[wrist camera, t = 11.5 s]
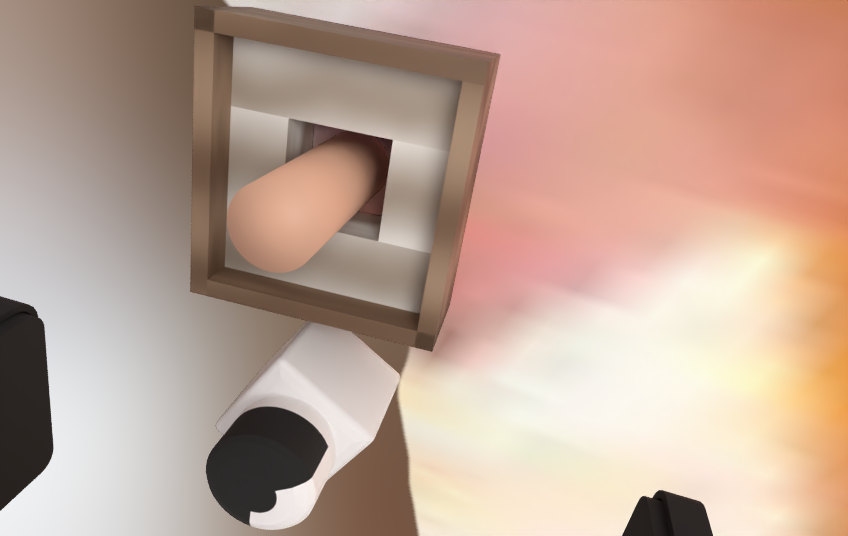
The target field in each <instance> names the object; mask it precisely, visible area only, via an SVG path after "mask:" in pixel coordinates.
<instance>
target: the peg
mask: <svg viewBox="0 0 848 536" xmlns="http://www.w3.org/2000/svg"><path fill="white" fill-rule="evenodd" d="M388 170H389V159H388V156H387V153H386V151H385V149H384V147H383V146H382V144H381V143H380V142H379V141H378V140H377V139H376V138H375V137H373V136H372V135H367V134H362V133H357V132H353V131H345V132H342V133H340V134H338V135H336V136H335V137H333V138H331V139H329V140H327V141H326V142H324V143H322V144H320V145H318V146H317V147H315V148H313V149H311V150H309V151H307V152H306V153H304V154H302V155H300V156H298V157H297V158H295V159H293V160H291V161H289V162H288V163H286V164H284V165H282V166H280V167H279V168H277V169H275V170H273V171H271V172H270V173H268V174H266V175H264V176H262V177H261V178H259V179H257V180H255V181H253V182H251V183H250V184H248V185H246V186H245V187H243V188H241V189H240V190H239V191H238V192H237V193H236V194H235V196H234V197H233V199H232V200H231V202H230V205H229V208H228V212H227V227H228V232H229V235H230V238H231V240H232V242H233V244H234V246H235V248H236V249H237V250H238V252H239V253H240V254H241V255H242V256H243V257H244V258H245V259H246V260H247V261H248V262H250V263H251V264H252V265H254V266H256V267H258V268H260V269H262V270H265V271H268V272H274V273H285V272H290V271H293V270H296V269H298V268H300V267H301V266H303V265H304V264H305V263H306V262H307V261H308V260H309V259H310V258H311V257H312V256H313V255H314V254H315V253H316V252H317V251H318V250H319V249H320V248H321V247H322V246H323V245H324V244H325V243H326V242H327V241H328V240H329V239H330V238H331V237H332V236H333V235H335V234H336V233H337V232H338V231H339V230H340V229H341V228H342V227H343V226H344V225H345V224H346V223H347V222H348V221H349V220H350V219H351V218H352V217H353V216H354V215H355V214H356V213H357V212H358V211H359V210H360V209H361V208H362V207H363V206H364V205H365V204H366V203H367V202H368V201H369V200H370V199H371V198H372V197H373V196H374V195H375V194H376V193H377V192H378V191H379V190H380V189H381V188H382V187H383V185H384V184H385V182H386V180H387V177H388Z"/></svg>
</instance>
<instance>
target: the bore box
mask: <svg viewBox="0 0 848 536" xmlns="http://www.w3.org/2000/svg"><path fill="white" fill-rule="evenodd" d="M499 59H500V54H496V53H491V52H486V51H481V50H475V49H470V48H465V47H459V46H454V45H449V44H444V43H438V42H433V41H428V40H422V39H417V38H412V37H407V36H401V35H396V34H391V33H385V32H380V31H375V30H370V29H364V28H359V27H354V26H348V25H343V24H338V23H333V22H327V21H322V20H317V19H311V18H306V17H301V16H296V15H290V14H285V13H280V12H274V11H269V10H264V9H259V8H253V7H210V6H208V7H207V6H206V7H205V6H195V16H194V84H193V149H192V152H193V154H192V218H191V219H192V220H191V283H190V284H191V286H190V287H191V288H190V292H193V293H197V294H202V295H206V296H210V297H214V298H217V299H222V300H226V301H230V302H234V303H238V304H242V305H246V306H250V307H254V308H258V309H262V310H266V311H270V312H274V313H278V314H282V315H286V316H291V317H294V318H299V319H302V320H306V321H310V322H314V323H318V324H322V325H326V326H330V327H334V328H338V329H342V330H347V331H351V332H355V333H359V334H363V335H367V336H371V337H375V338H379V339H383V340H387V341H391V342H395V343H399V344H403V345H407V346H411V347H415V348H419V349H423V350H427V351H431V352H432V351H433V348H434V345H435V343H436V340H437V337H438V335H439V332H440V329H441V327H442V324H443V321H444V318H445V316H446V313H447V310H448V308H449V305H450V301H451V296H452V291H453V286H454V281H455V276H456V271H457V266H458V261H459V256H460V251H461V246H462V241H463V237H464V232H465V227H466V222H467V217H468V212H469V207H470V202H471V197H472V192H473V187H474V182H475V177H476V172H477V167H478V163H479V158H480V153H481V148H482V143H483V138H484V133H485V128H486V123H487V118H488V113H489V108H490V103H491V98H492V93H493V89H494V84H495V79H496V74H497V69H498V64H499ZM314 123H315V124H319V125H324V126H329V127H334V128H338V129H343V130H348V131H353V132H357V133H362V134H367V135H372V136H377V137H381V138H386V139H391V140H393V143H392V150H391V157H390V164H389V170H388V177H387V184H386V191H385V198H384V205H383V212H382V216H378V215H374V214H369V213H365V212H360V211H358V212H357V213H356V214H355V215H354V216H353V217H352V218H351V219H350V220H349V221H348V222H347V223H346V224H345V225H344V226H343V227H342V228H341V229H340V230H339V231H338V232H337V233H336V234H335V235H333V236H332V237H331V238H330V239H329V240H328V241H327V242H326V243H325V244H324V245H323V246H322V247H321V248H320V249H319V250H318V251H317V252H316V253H315V254H314V255H313V256H312V257H311V258H310V259H309V260H308V261H307V262H306V263H305V264H304V265H303V266H301V267H300V268H298V269H296V270H293V271H290V272H285V273H274V272H268V271H265V270H262V269H260V268H258V267H256V266H254V265H252V264H251V263H250V262H248V261H247V260H246V259H245V258H244V257H243V256H242V255H241V254H240V253H239V252H238V250H237V249H236V248H235V246H234V244H233V242H232V240H231V238H230V235H229V232H228V227H227V212H228V208H229V205H230V202H231V200H232V199H233V197H234V196H235V194H236V193H237V192H238V191H239V190H240V189H241V188H243V187H245V186H246V185H248V184H250V183H251V182H253V181H255V180H257V179H259V178H261V177H262V176H264V175H266V174H268V173H270V172H271V171H273V170H275V169H277V168H279V167H280V166H282V165H284V164H286V163H288V162H289V161H291V160H293V159H295V158H297V157H298V156H300V155H302V154H304V153H306V152H307V151H309V150H311V149H312V143H313V133H314Z"/></svg>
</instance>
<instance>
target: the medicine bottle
mask: <svg viewBox="0 0 848 536" xmlns="http://www.w3.org/2000/svg"><path fill="white" fill-rule="evenodd" d="M399 380H400V375H399V374H398V373H397V372H396V371H395V370H394V369H393V368H392V367H391V366H389V365H388V364H387V363H386V362H385V361H384V360H383V359H382V358H381V357H379V356H378V355H377V354H376V353H375V352H374V351H373V350H371V349H370V348H369V347H368V346H367V345H366V344H365V343H364V342H363V341H361V340H360V339H359V338H358V337H357V336H356V335H355V334H353V333H352V332H351V331H347V330H342V329H338V328H334V327H330V326H326V325H322V324H318V323H314V322H310V321H306V322H305V323H304V324H303V326H301V328H300V329H299V330H298V331H297V332H296V333H295V334H294V335H293V336H292V337H291V338H290V339H289V340H288V341H287V342H286V343H285V344H284V345H283V346H282V347H281V348H280V350H279V351H277V353H276V354H275V355H274V356H273V357H272V358H271V359H270V360H269V361H268V362H267V363H266V364H265V365H264V366H263V367H262V369H261V370H260V371H259V372H258V373H257V374H256V376H255V377H254V378H253V379H252V380H251V382H250V383H249V384H248V385H247V386H246V388H245V389H244V390H243V391H242V392H241V394H240V395H239V396H238V397H237V398H236V400H235V401H234V402H233V403H232V404H231V406H230V407H229V408H228V409H227V410H226V412H225V413H224V414H223V415H222V416H221V418H220V419H219V420H218V421H217V423H216V428H217V430H218V431H219V432H221V433H222V434H223V437H222V438H221V439H220V440H219V442H218V443H217V444H216V445H215V447H214V448H213V449H212V451H211V453H210V454H209V457H208V459H207V465H206V474H207V480H208V484H209V487H210V489H211V492H212V494H213V496H214V497H215V499H216V500H217V501H218V503H219V504H220V505H221V507H222V508H223V509H224V510H225V511H226V512H228V513H229V514H230V515H231V516H233V517H234V518H236V519H237V520H239V521H241V522H243V523H245V524H247V525H249V526H252V527H256V528H260V529H267V530H275V529H276V530H277V529H283V528H288V527H291V526H294V525H296V524H298V523H300V522H301V521H303V520H304V519H305V518H306V517H307V516H308V515H309V513H310V512H311V510H312V508H313V507H314V504H315V503H316V500H317V498H318V496H319V494H320V492H321V490H322V488H323V486H324V484H325V482H326V481H327V480H328V479H329V478H330V477H331V476H333V475H334V474H335V473H336V472H337V471H338V470H340V469H341V468H342V467H343V466H344V465H345V464H347V463H348V462H349V461H350V460H351V459H353V458H354V457H355V456H356V455H357V454H358V453H360V452H361V451H362V450H363V449H364V448H365V447H367V446H368V445H369V444H370V443H371V442H372V441H373V440H374V438H375V436H376V433H377V431H378V429H379V426H380V424H381V422H382V420H383V417H384V415H385V412H386V410H387V408H388V406H389V403H390V401H391V399H392V396H393V394H394V392H395V390H396V387H397V385H398V383H399Z"/></svg>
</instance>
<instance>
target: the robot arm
mask: <svg viewBox="0 0 848 536" xmlns="http://www.w3.org/2000/svg"><path fill="white" fill-rule="evenodd" d="M50 410H51V409H50V398H49V384H48V370H47V356H46V343H45V330H44V324H43V321H42V320H41V319H40V318H38V315H37V311H36V310H35V309H34V307H32V306H30V305H28V304H24V303H21V302H18V301H14V300H10V299H7V298H4V297H1V296H0V510H2V509H3V508H4V507H5V506H6V505H7V504H8V503H9V502H10V501H11V500H12V499H14V498H15V497H16V496H17V495H18V494H19V493H20V492H21V491H22V490H23V489H24V488H25V487H26V486H28V484H30V483H31V482H32V481H33V480H34V479H35V478H36V477H37V476H38V475H39V474H41V473H42V471H43V470H44V469H45V468H46V466H47V465H48V464H49V462H50V459H51V457H52V453H53V436H52V423H51V411H50ZM622 536H713V534H712V530H711V527H710V523H709V520H708V516H707V513H706V510H705V507H704V505H703V504H702V503H701V502H700V501H697V500H693V499H690V498H687V497H683V496H680V495H676V494H673V493H669V492H666V491H663V490H659V491H657V492H656V493H655V495H654V496H653V498H649V497H646V496H642V497H641V498H640V500H639V501H638V503H637V505H636V507H635V509H634V512H633V514H632V516H631V518H630V520H629V522H628V524H627V526H626V529H625V531H624V533H623V535H622Z"/></svg>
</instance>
